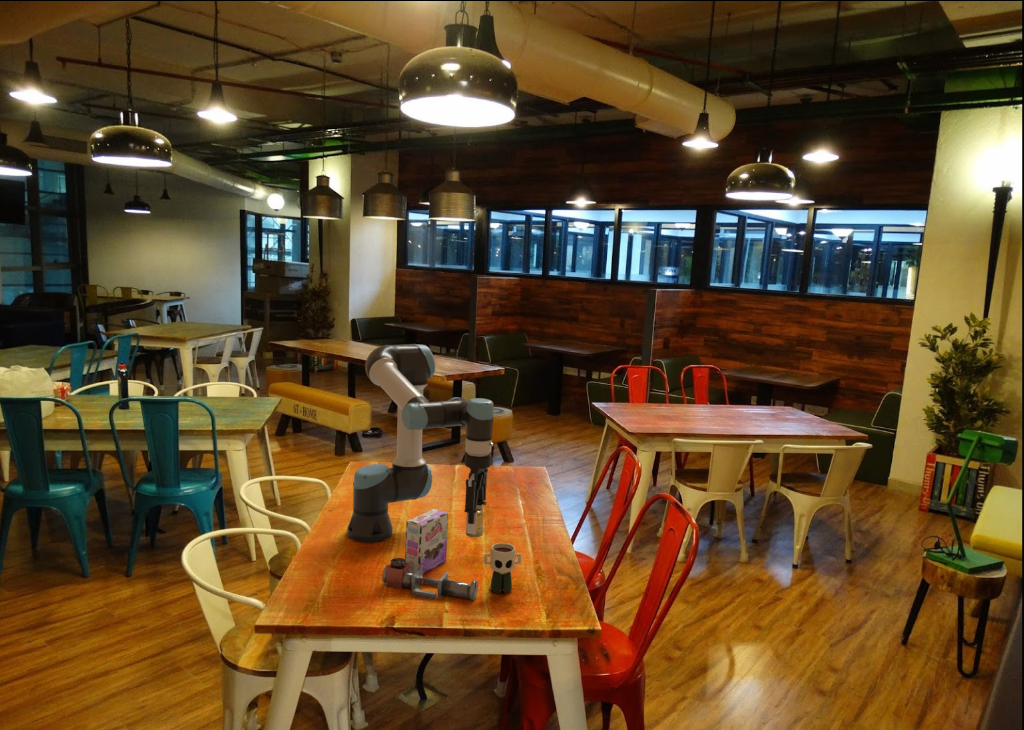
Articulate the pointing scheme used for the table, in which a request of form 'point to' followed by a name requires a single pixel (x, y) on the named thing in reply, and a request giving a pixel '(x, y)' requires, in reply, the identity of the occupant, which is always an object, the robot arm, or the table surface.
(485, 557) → the character mug
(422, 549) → the candy box
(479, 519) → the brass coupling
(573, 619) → the table surface
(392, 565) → the pipe run
